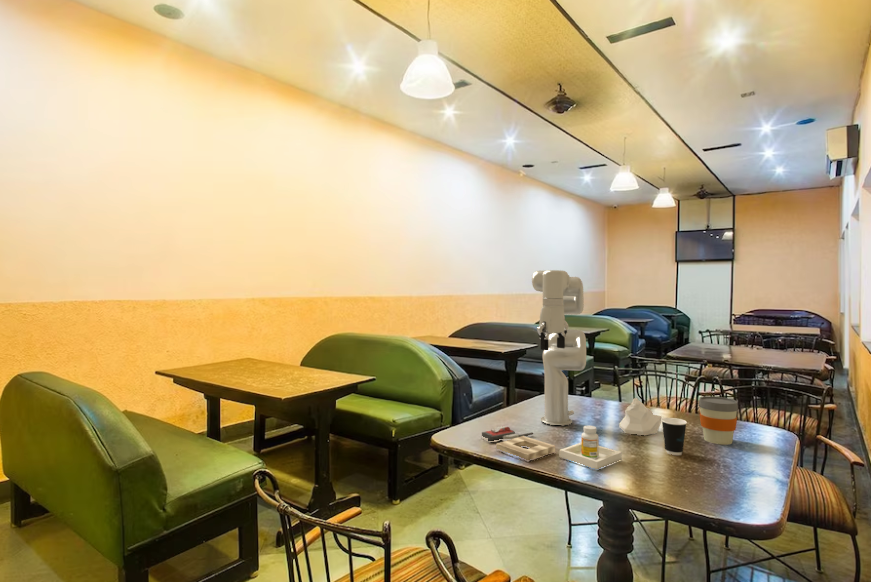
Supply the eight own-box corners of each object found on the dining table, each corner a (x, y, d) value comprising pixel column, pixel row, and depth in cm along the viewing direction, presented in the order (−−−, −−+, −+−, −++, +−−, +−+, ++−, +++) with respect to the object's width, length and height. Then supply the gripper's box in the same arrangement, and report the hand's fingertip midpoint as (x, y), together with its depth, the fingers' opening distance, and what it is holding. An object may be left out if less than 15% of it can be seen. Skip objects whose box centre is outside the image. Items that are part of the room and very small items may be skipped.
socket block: (523, 442, 173) (523, 435, 173) (555, 453, 162) (555, 445, 162) (496, 450, 164) (496, 443, 164) (527, 462, 154) (527, 454, 154)
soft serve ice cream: (658, 442, 178) (654, 407, 176) (617, 439, 187) (611, 405, 184) (662, 426, 189) (658, 392, 186) (622, 423, 197) (618, 391, 194)
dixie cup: (686, 458, 157) (686, 425, 157) (660, 454, 161) (660, 421, 161) (687, 451, 164) (687, 419, 164) (661, 447, 168) (662, 416, 168)
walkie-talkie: (492, 446, 170) (535, 437, 180) (492, 434, 170) (535, 426, 180) (478, 440, 178) (519, 431, 188) (478, 428, 178) (519, 420, 188)
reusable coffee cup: (698, 442, 173) (699, 401, 173) (698, 433, 184) (698, 394, 184) (739, 448, 167) (739, 405, 167) (736, 438, 178) (736, 398, 178)
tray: (584, 449, 166) (584, 441, 166) (621, 460, 155) (621, 452, 155) (559, 458, 157) (559, 449, 157) (597, 471, 146) (597, 461, 146)
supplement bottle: (586, 452, 160) (585, 423, 160) (601, 456, 157) (601, 426, 157) (578, 457, 156) (578, 427, 156) (594, 461, 153) (594, 430, 153)
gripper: (558, 302, 187) (558, 346, 187) (529, 303, 176) (529, 349, 176) (575, 303, 181) (575, 348, 181) (546, 304, 170) (546, 351, 170)
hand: (552, 349), depth 179 cm, fingers open, 9 cm apart
